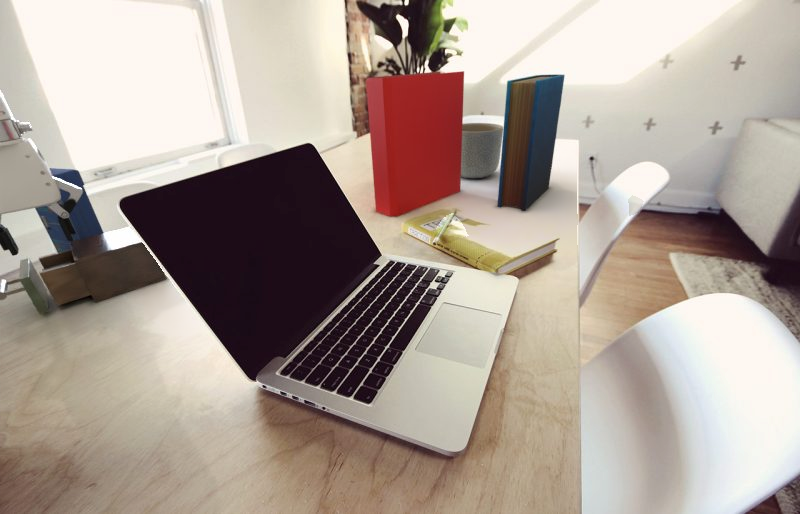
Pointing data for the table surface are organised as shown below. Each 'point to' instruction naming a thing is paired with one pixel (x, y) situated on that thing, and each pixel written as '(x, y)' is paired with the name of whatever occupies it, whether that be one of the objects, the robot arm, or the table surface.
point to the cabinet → (115, 263)
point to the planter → (480, 149)
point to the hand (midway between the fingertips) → (43, 244)
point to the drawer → (49, 281)
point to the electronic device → (79, 216)
